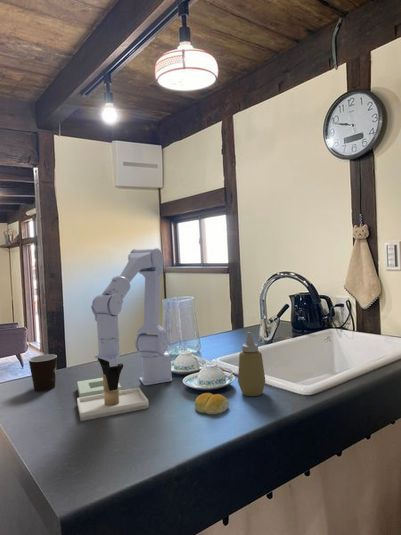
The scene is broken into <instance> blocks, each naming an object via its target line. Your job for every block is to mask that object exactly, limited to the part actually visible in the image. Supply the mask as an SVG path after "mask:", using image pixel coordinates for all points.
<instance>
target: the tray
mask: <svg viewBox="0 0 401 535" xmlns="http://www.w3.org/2000/svg"><path fill="white" fill-rule="evenodd" d="M76 404H77V409H78V414H79V420H80V422H83V421H87V420H88V421H89V420H93V419H98V418H103V417H108V416H110V417H111V416H114V415H121V414H124V413H129V412H135V411H139V410H140V411H141V410H145V409H150V408H149V407H150V403H149V399H148V398H147V397H146V395H145V393H144V392H143V391H142V390H141V388H140V387H134V388H128V389H121V391H119V403H118V404H116V405H113V406H107V405H105V402H104V394H98V395H92V396H86V397H77V398H76Z"/></svg>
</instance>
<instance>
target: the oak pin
mask: <svg viewBox="0 0 401 535" xmlns="http://www.w3.org/2000/svg"><path fill="white" fill-rule="evenodd" d="M102 378H103V386H104V402H105V405H107V406H113V405H116V404H118V403H119V390H118V389H117V390H112V391H110V390H109V387H108V383H107V379H106V375H105V374H104V375H102Z"/></svg>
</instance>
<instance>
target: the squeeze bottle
mask: <svg viewBox="0 0 401 535" xmlns="http://www.w3.org/2000/svg"><path fill="white" fill-rule="evenodd" d="M241 350H242V351H240V353H239V355H238V356H239V357H238V358H239V359H238V375H237V383H238V386H239V389H240V392H241V393H242V395H244V396H246V397H258V396H261V395H262V394H263V391H264V389H265V385H266V376H265V368H264V361H263V354H262V352H260V351H259V344H257V343H255V341H254V336H253V334H252V332H250V331H247V334H246V340H245V343H243V344H242V345H241Z"/></svg>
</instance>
